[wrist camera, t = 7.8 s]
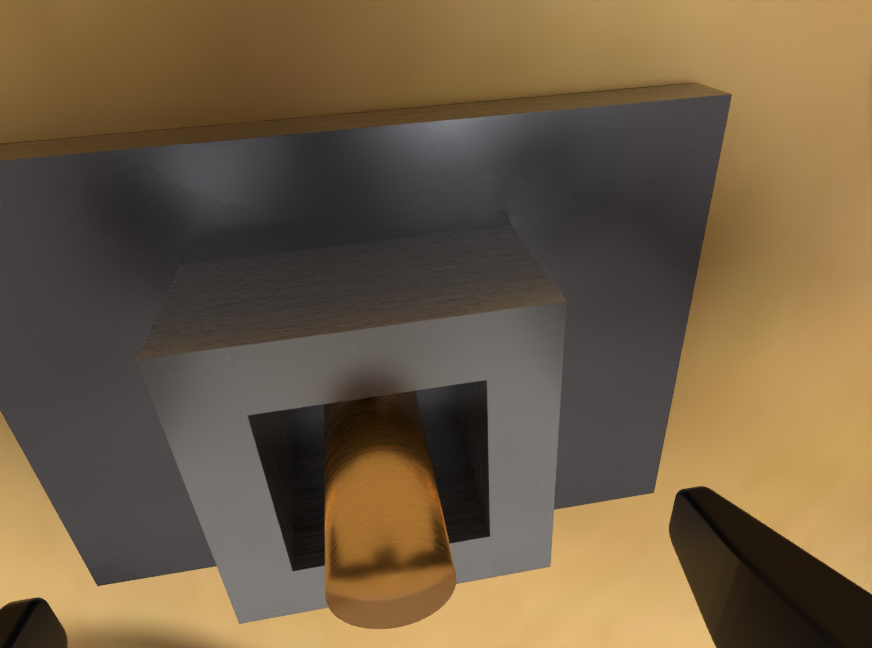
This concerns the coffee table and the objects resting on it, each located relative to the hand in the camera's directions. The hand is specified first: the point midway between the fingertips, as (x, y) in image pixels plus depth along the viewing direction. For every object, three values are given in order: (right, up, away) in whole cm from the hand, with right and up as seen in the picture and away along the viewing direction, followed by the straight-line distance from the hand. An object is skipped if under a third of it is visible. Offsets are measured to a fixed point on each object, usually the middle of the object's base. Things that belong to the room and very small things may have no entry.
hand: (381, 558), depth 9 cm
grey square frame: (-1, +2, +4) cm, 5 cm away
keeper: (-1, +3, +5) cm, 6 cm away
